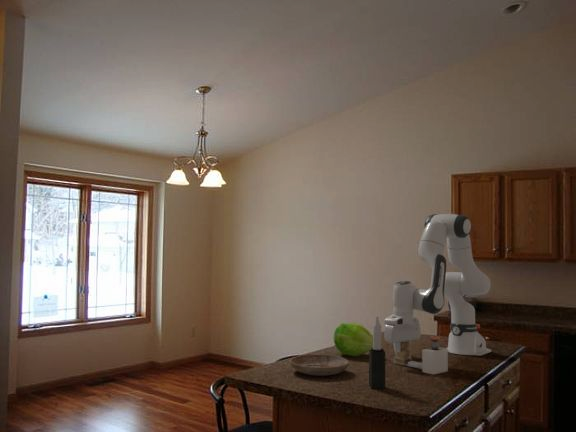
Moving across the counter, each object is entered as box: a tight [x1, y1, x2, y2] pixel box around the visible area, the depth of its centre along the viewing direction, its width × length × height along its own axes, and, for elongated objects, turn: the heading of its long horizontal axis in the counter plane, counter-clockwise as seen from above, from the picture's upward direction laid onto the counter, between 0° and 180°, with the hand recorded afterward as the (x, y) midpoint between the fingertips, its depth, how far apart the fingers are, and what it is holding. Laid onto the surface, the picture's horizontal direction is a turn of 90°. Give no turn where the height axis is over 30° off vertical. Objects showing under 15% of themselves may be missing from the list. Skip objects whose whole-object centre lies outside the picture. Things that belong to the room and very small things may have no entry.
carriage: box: [394, 341, 412, 366], centre depth 223 cm, size 5×5×9 cm
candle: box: [368, 316, 386, 390], centre depth 185 cm, size 5×5×25 cm
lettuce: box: [333, 322, 373, 357], centre depth 241 cm, size 17×20×15 cm
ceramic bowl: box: [289, 354, 350, 377], centre depth 206 cm, size 23×24×5 cm
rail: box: [392, 357, 422, 370], centre depth 219 cm, size 2×18×2 cm, turn 38°
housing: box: [421, 346, 449, 375], centre depth 210 cm, size 10×5×9 cm, turn 128°
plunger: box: [429, 336, 441, 350], centre depth 211 cm, size 4×4×6 cm
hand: (403, 351), depth 223 cm, fingers closed on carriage, 4 cm apart
